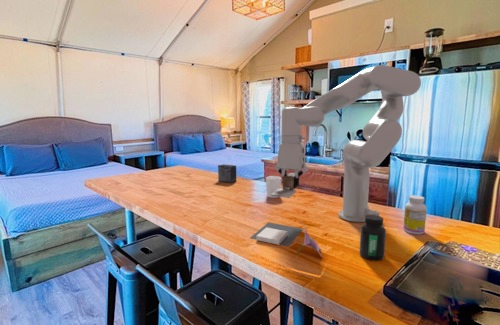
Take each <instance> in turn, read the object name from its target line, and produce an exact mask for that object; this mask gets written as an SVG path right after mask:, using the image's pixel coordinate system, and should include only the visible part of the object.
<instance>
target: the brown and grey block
mask: <svg viewBox="0 0 500 325" xmlns="http://www.w3.org/2000/svg"><path fill="white" fill-rule="evenodd" d="M294 178H295V172H290V173H289V172H288V173H287V175H286V176H285V177H283V183H282V188H281V189H277V190H276V191H275V192H273V193H272V194H271V196H277V198H285V199H286V198H287V199H290V198H291V197H292V196H293V195H294V194H296V193H297V190H295V189H296V188H294ZM299 186H300V184H299V185H298V187H299Z"/></svg>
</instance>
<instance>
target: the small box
mask: <svg viewBox="0 0 500 325" xmlns="http://www.w3.org/2000/svg"><path fill="white" fill-rule="evenodd" d="M217 168H218V169H217V172H218V173H217V174H218V175H217V176H218V179H217V180H218V182H222V183H229V184H232V183H235V182H237V165H233V164H225V163H224V164H219V165H217Z"/></svg>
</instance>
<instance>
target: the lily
mask: <svg viewBox="0 0 500 325" xmlns="http://www.w3.org/2000/svg"><path fill="white" fill-rule="evenodd" d="M299 220H300V222H301V224H302V226H303V227H304V228H303V230H302V232H303V233H304V240H303V244H302V245H301V247H300V248H299V249H298V250H297V252H296V254H299V253H300V251H301V249H303V247H304V246H308V247H310V248H312V249H314V250H315V251H317V253H318V254H319V256H320V257H321V258H323V256H322V254H321V253H320V250H321V247H320V246H319V244H318V243H317V241H316V240H317V237H315V236H313V238H312V237H311V236H310V234H309V233H308V230H307V228H306V226H305V224H304V223H303V222H302V220H301V219H299Z"/></svg>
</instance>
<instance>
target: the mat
mask: <svg viewBox="0 0 500 325" xmlns="http://www.w3.org/2000/svg"><path fill="white" fill-rule="evenodd" d="M266 227H267V228H272V229H277V230H283V231H287V237H286V238H285V239H284V240H283V241H282V242H281V243H280V244H279V245H280V246H284V247H290V246H291V245H292V243H293V242H294V241H295V240H296V239H297V237H298V236H299V235H300V234H301V232H303V230H304V228H303V227H302V228H301V227H296V226H291V225H285V224H279V223H274V222H269V221H268V222H267V223H266V224H264V226H262V227H261V228H260V229H258V231H257V232H255V233H253V235H251V236H250V237H249V239H252V240H256V236H257V235H258V234H259V233H260V232H262V231H263V230H264V229H265V228H266ZM279 245H278V246H279Z"/></svg>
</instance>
